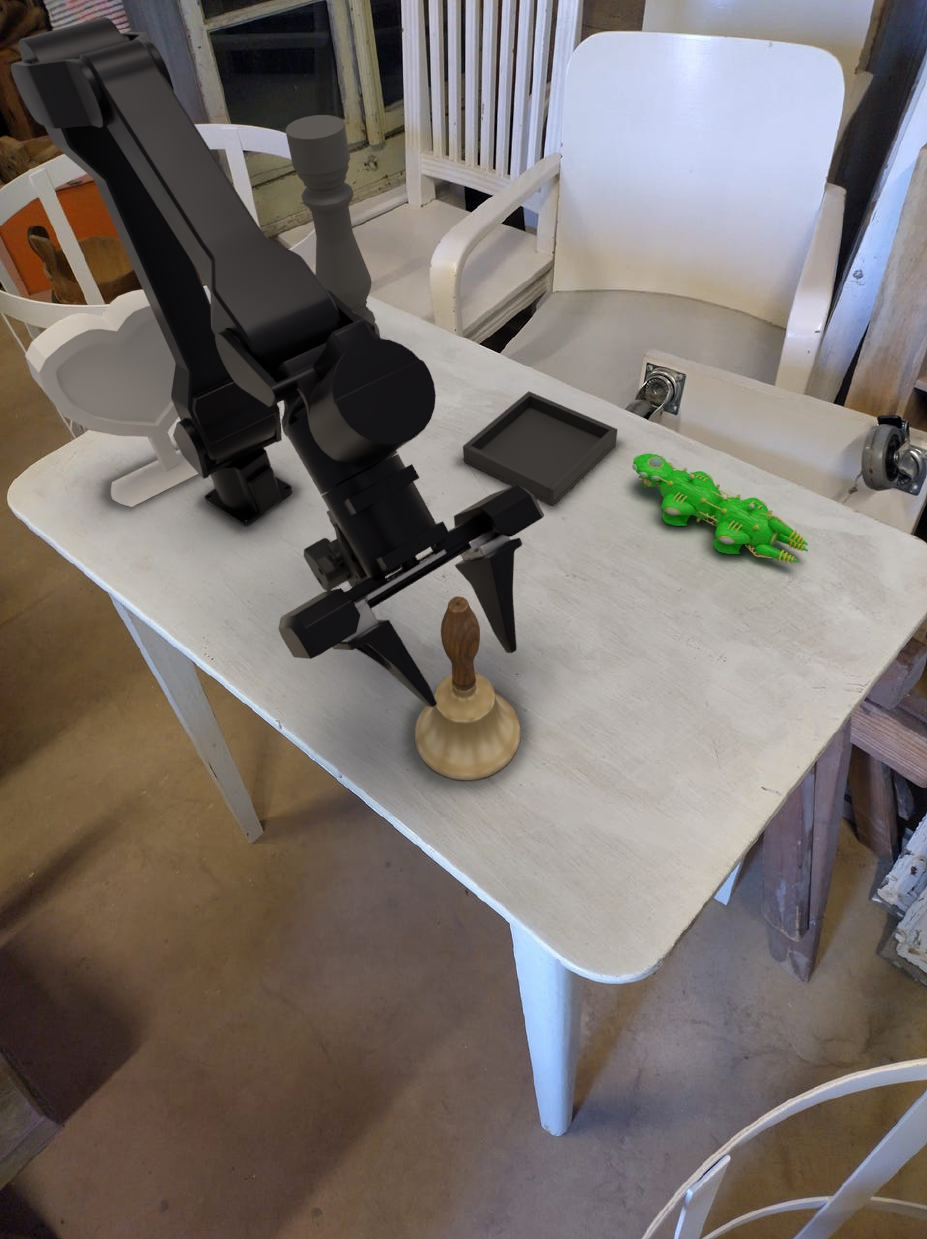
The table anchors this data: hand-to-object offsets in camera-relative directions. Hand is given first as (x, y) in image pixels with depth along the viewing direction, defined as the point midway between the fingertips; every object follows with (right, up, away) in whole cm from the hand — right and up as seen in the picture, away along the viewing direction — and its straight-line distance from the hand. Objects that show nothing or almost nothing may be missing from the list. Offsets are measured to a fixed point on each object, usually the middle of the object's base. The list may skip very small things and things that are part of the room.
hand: (473, 678), depth 56 cm
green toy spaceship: (+23, +13, +21) cm, 33 cm away
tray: (+7, +21, +28) cm, 36 cm away
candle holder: (-13, +35, +41) cm, 56 cm away
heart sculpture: (-31, +20, +30) cm, 48 cm away
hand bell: (0, -5, +8) cm, 9 cm away
